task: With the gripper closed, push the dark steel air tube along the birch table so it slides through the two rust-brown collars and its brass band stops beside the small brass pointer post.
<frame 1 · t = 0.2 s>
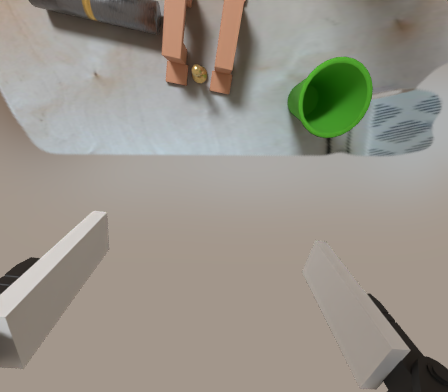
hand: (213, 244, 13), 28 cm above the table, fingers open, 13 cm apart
cup: (301, 100, 36), on the table
collar b: (227, 38, 32), on the table
tube: (103, 9, 30), on the table
collar a: (181, 27, 31), on the table
pointer post: (199, 74, 34), on the table
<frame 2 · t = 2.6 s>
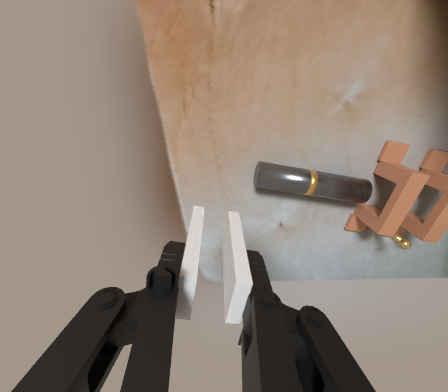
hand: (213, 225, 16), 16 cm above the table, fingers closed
collar b: (412, 196, 34), on the table
tube: (306, 178, 32), on the table
collar a: (372, 189, 33), on the table
pointer post: (376, 222, 36), on the table
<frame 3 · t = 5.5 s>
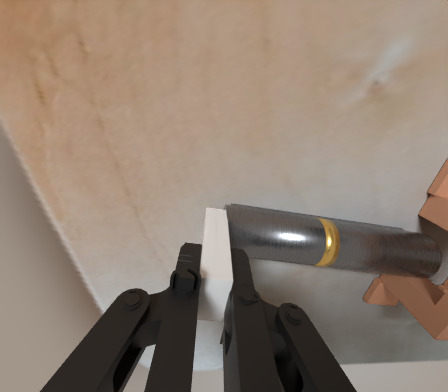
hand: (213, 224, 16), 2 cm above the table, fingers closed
tube: (314, 229, 18), on the table, touching gripper
collar a: (414, 241, 19), on the table
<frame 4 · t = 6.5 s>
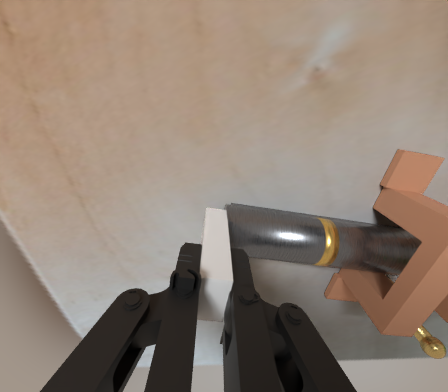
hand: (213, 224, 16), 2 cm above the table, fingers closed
tube: (314, 229, 18), on the table, touching gripper
collar a: (371, 235, 19), on the table
pointer post: (378, 285, 21), on the table
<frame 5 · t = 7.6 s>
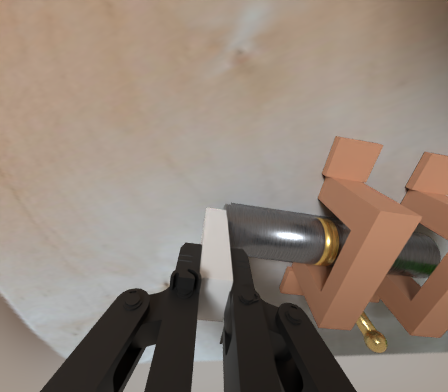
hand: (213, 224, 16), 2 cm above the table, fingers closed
collar b: (395, 237, 19), on the table
tube: (314, 229, 18), on the table, touching gripper
collar a: (320, 227, 18), on the table
pointer post: (334, 279, 21), on the table
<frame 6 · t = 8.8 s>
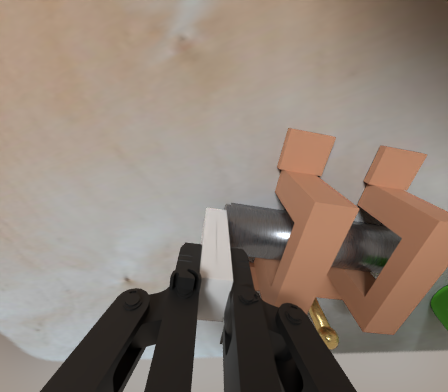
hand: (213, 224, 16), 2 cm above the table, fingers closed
collar b: (357, 232, 18), on the table
tube: (314, 229, 18), on the table, touching gripper
collar a: (280, 222, 18), on the table
pointer post: (298, 275, 20), on the table
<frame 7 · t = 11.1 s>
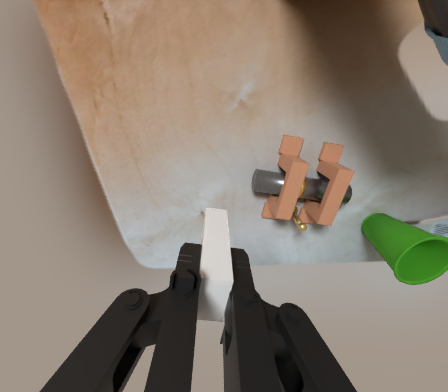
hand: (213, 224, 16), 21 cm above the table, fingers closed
cup: (373, 223, 42), on the table
collar b: (317, 185, 38), on the table
tube: (296, 183, 37), on the table
collar a: (280, 179, 37), on the table
pointer post: (290, 210, 39), on the table
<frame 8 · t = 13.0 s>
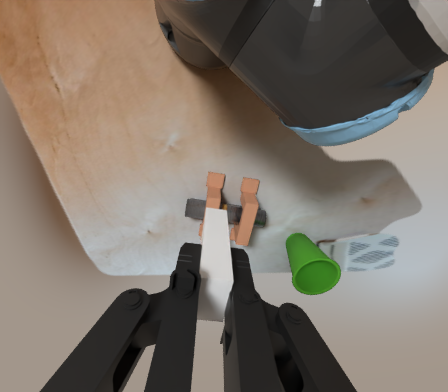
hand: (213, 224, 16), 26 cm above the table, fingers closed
cup: (296, 241, 49), on the table
collar b: (243, 210, 45), on the table
tube: (225, 209, 45), on the table
collar a: (210, 206, 45), on the table
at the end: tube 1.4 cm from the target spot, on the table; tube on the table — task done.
